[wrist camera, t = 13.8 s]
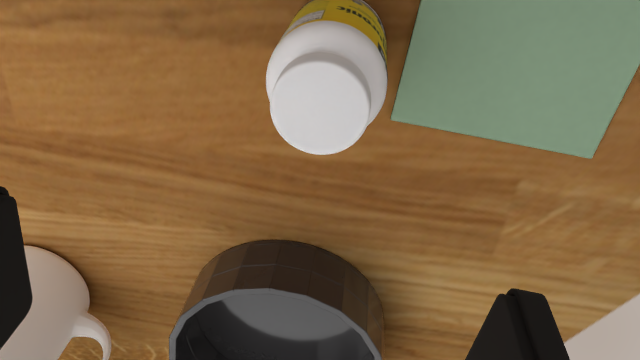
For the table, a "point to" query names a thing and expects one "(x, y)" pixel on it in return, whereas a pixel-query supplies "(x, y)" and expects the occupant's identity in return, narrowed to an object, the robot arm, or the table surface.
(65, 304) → the mug
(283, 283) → the pan
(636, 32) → the cloth
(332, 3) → the supplement bottle
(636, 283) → the table surface
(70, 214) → the table surface
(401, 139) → the table surface
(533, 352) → the robot arm
